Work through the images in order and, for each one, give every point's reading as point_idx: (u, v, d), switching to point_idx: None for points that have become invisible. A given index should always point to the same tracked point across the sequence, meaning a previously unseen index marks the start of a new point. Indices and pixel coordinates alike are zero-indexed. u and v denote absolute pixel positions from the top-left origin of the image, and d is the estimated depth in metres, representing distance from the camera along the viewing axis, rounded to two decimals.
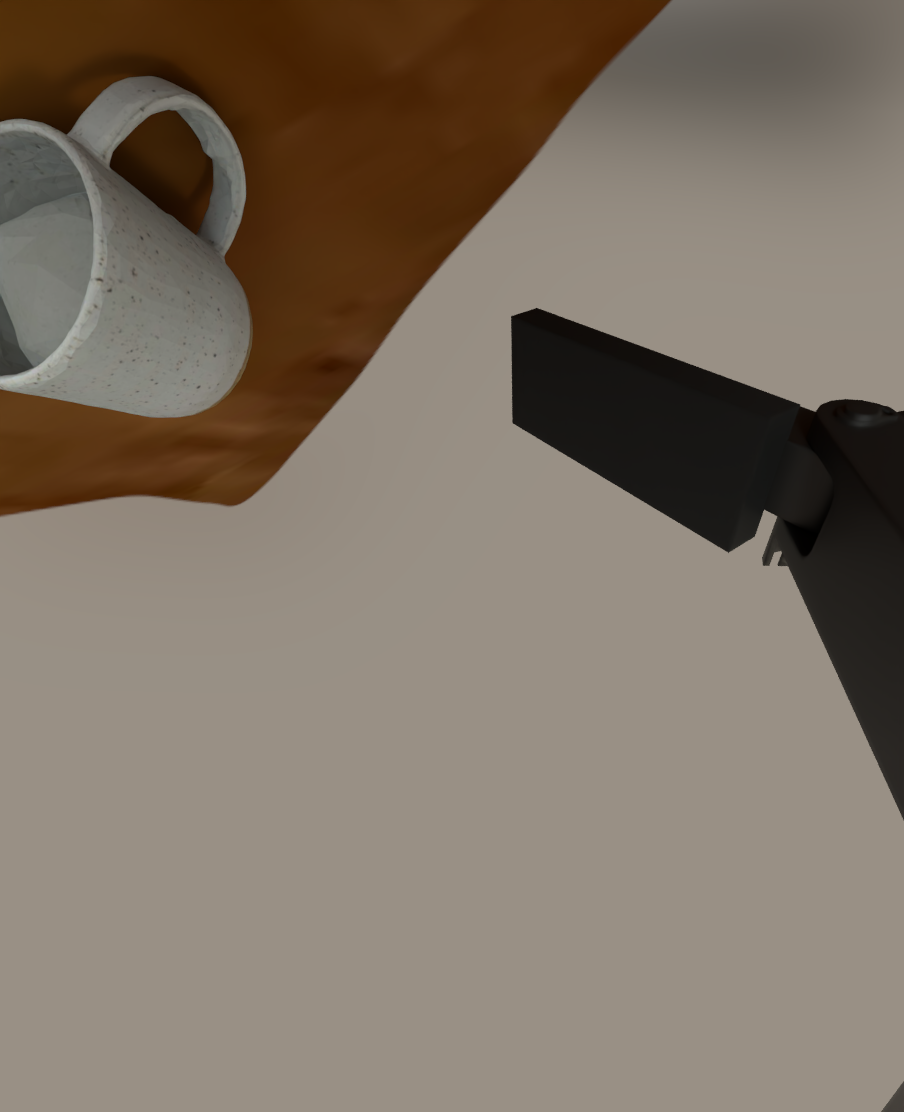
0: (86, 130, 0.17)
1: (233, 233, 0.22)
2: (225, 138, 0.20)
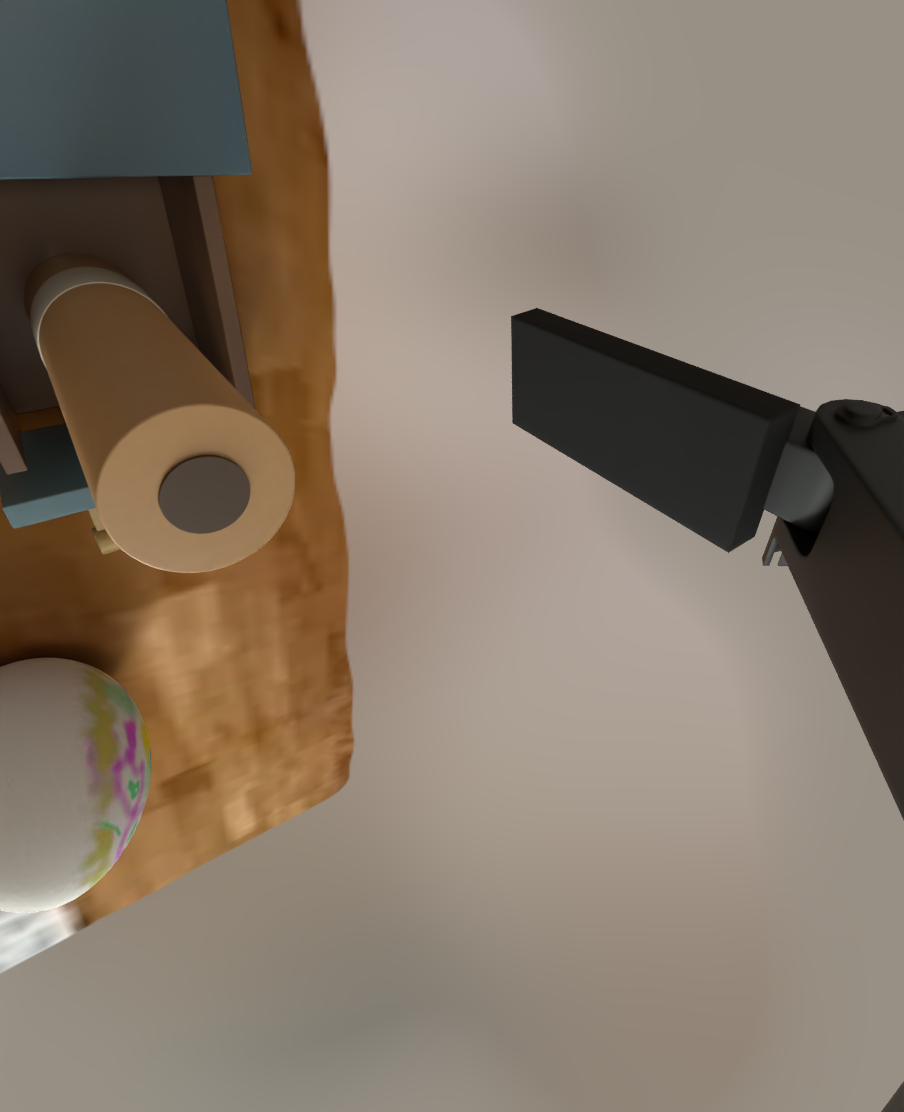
0: None
1: None
2: None
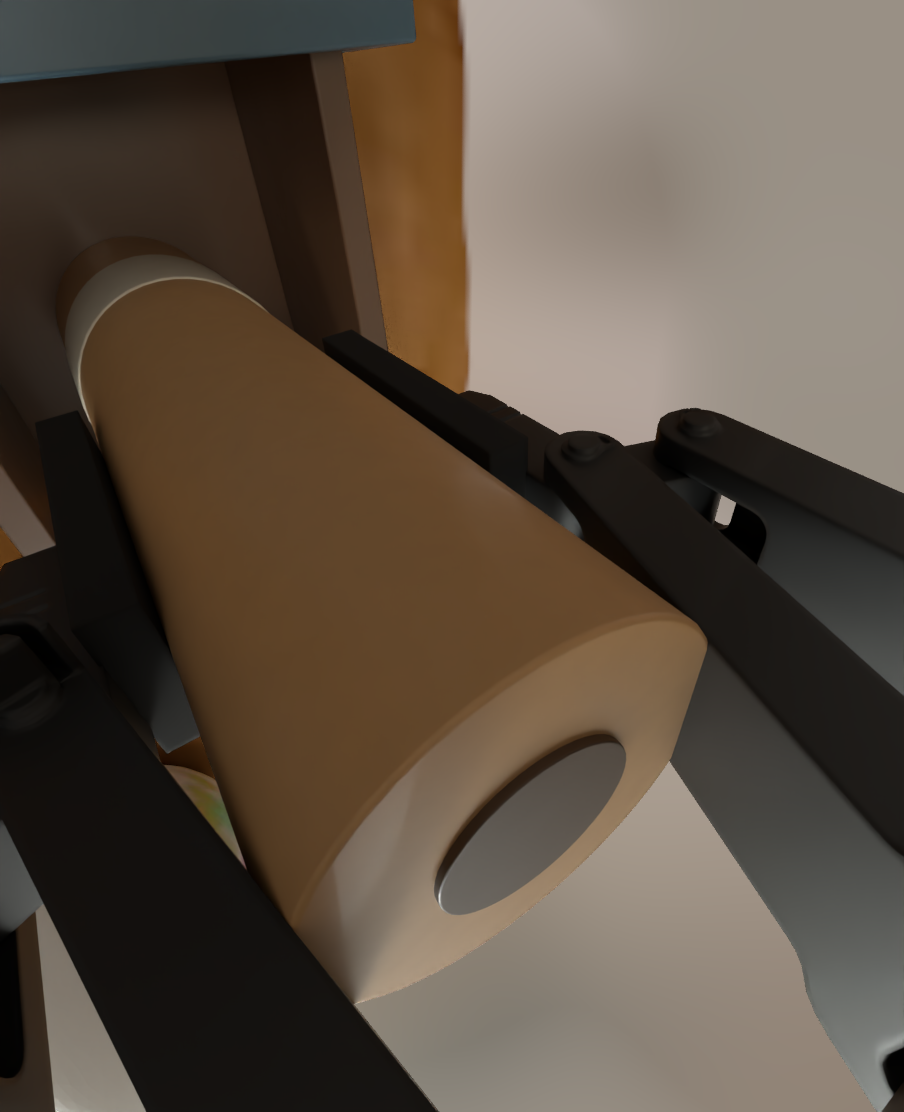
0: None
1: None
2: None
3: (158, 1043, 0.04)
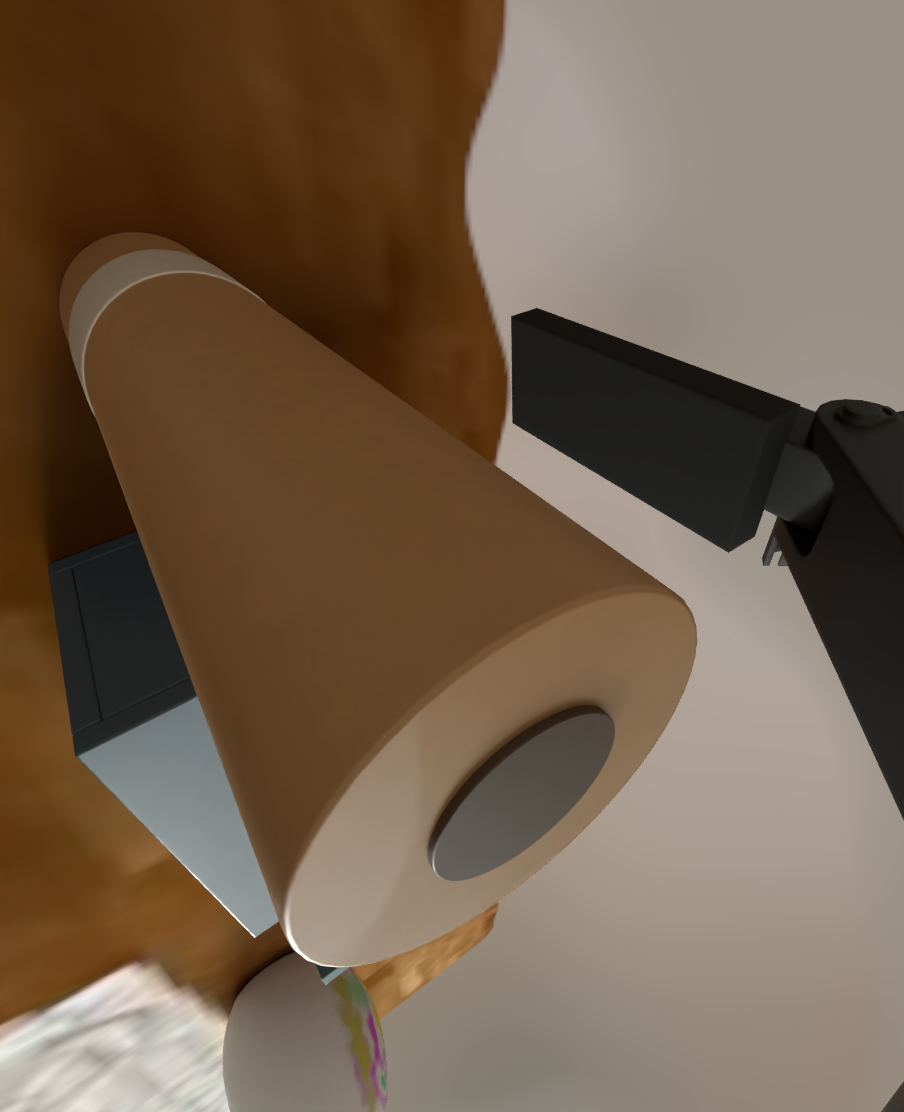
0: None
1: None
2: None
3: None
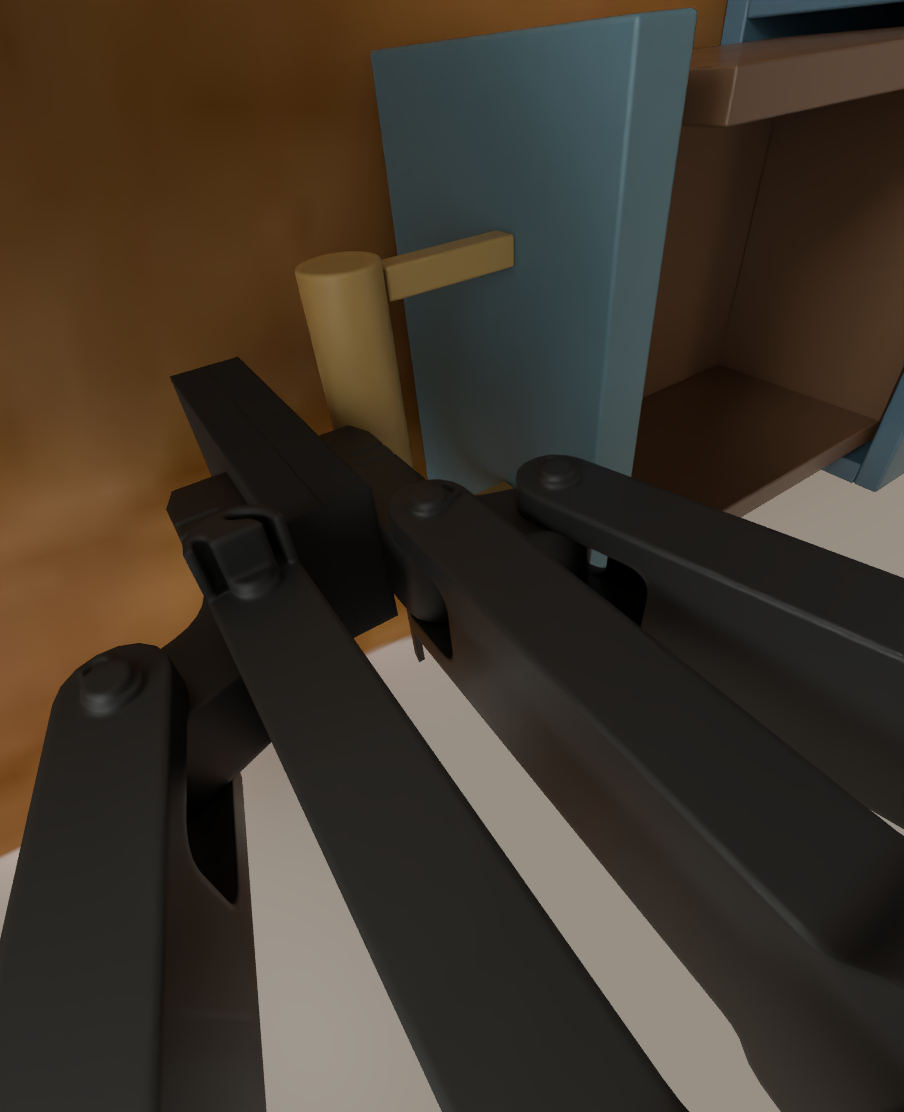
0: None
1: None
2: None
3: (355, 856, 0.05)
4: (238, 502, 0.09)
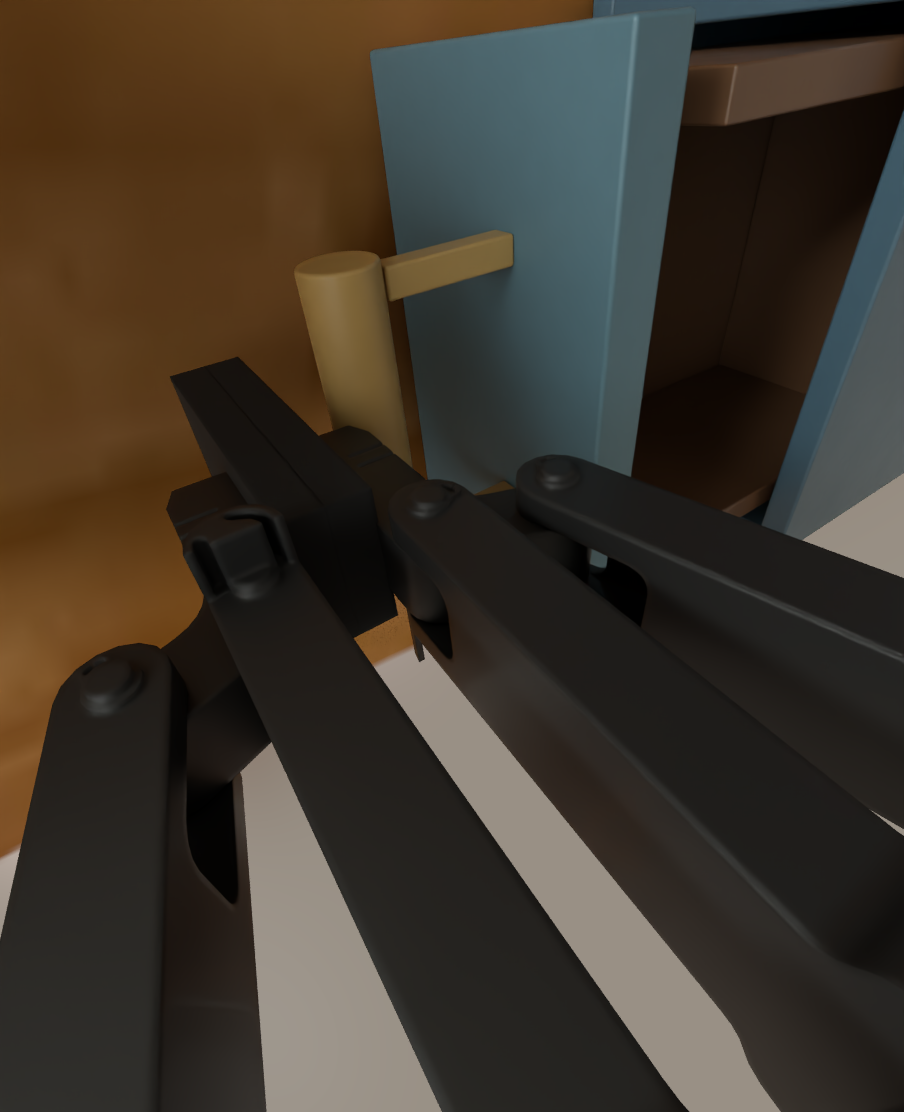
0: None
1: None
2: None
3: (355, 856, 0.05)
4: (238, 502, 0.09)
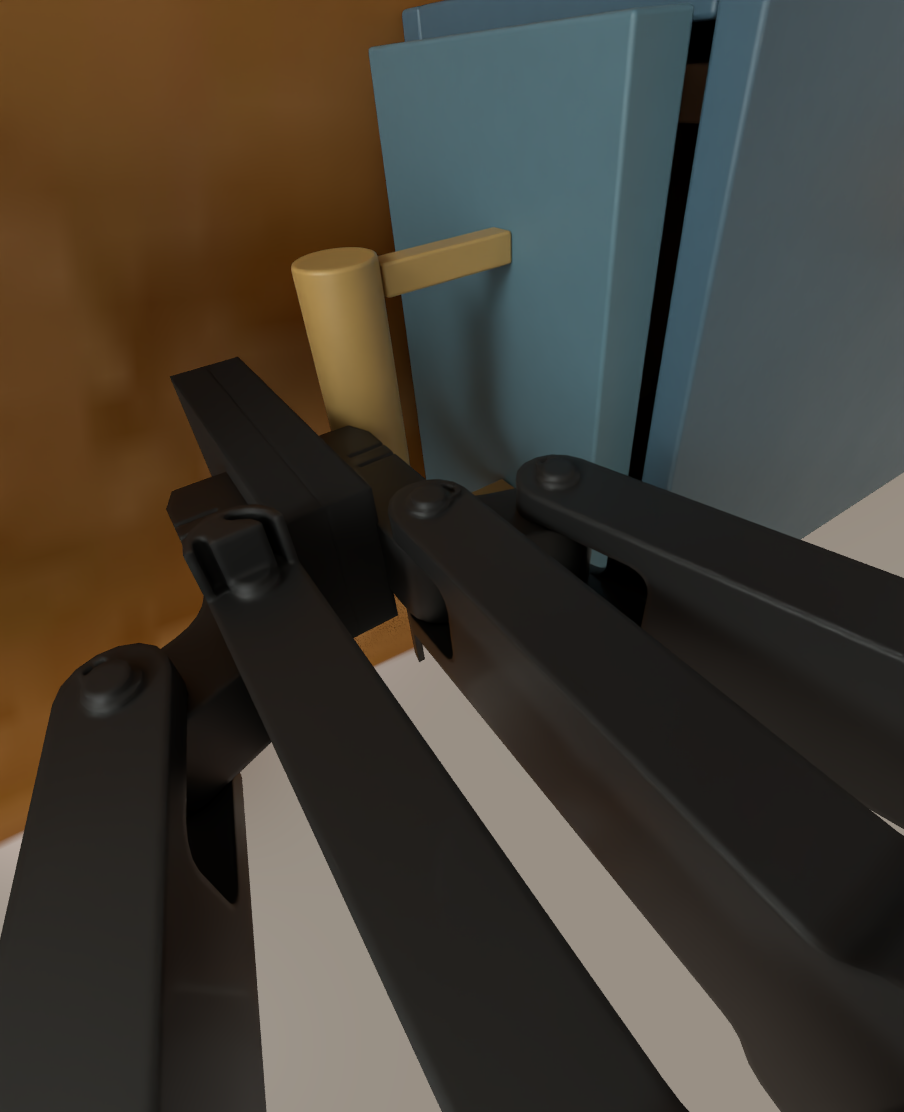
0: None
1: None
2: None
3: (355, 856, 0.05)
4: (238, 502, 0.09)
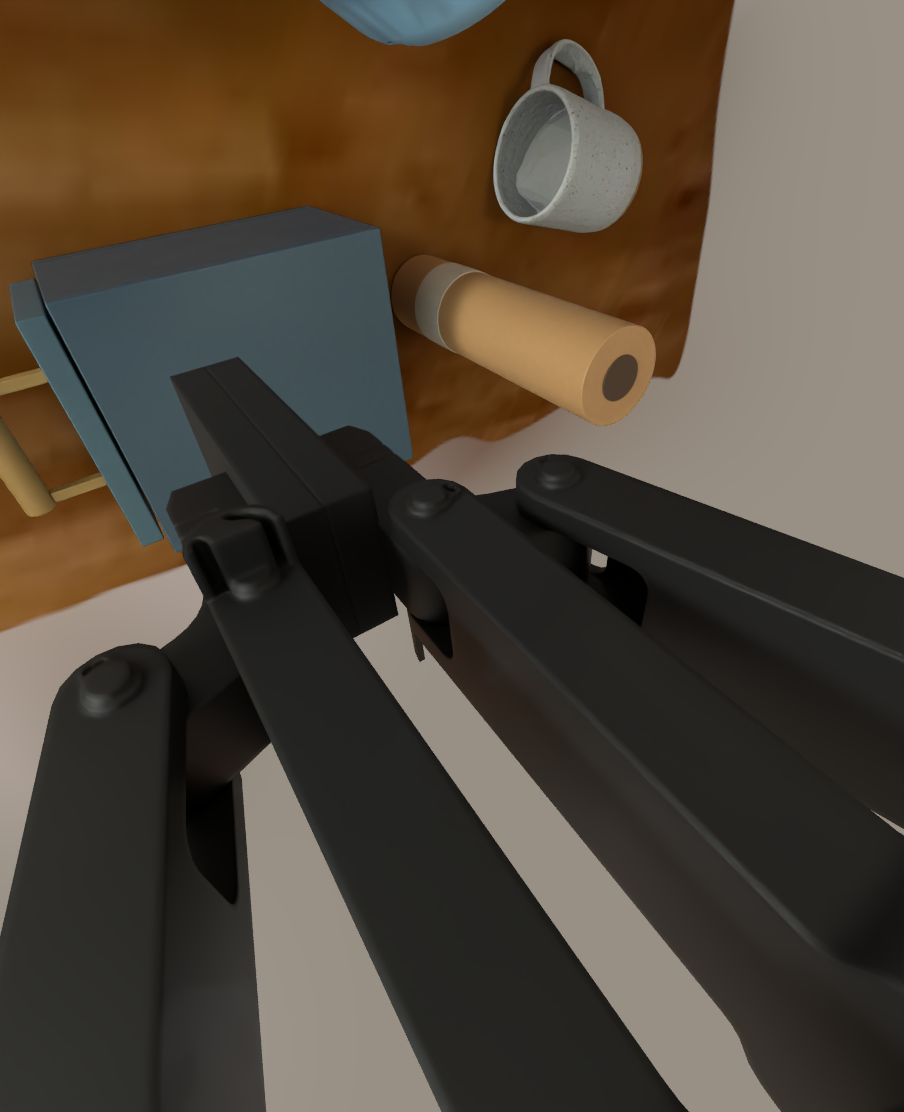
0: (536, 85, 0.37)
1: (603, 100, 0.40)
2: (581, 52, 0.38)
3: (355, 856, 0.05)
4: (237, 502, 0.09)
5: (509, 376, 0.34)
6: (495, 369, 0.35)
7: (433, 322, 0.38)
